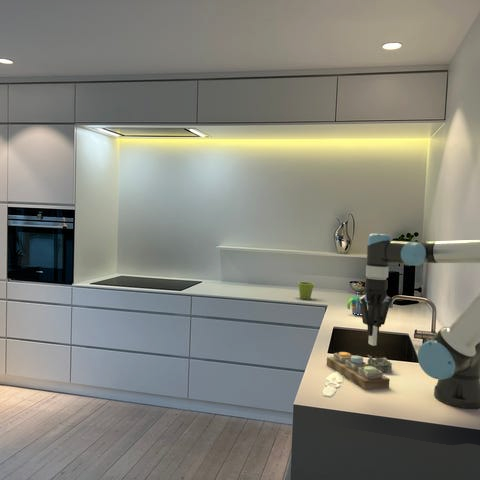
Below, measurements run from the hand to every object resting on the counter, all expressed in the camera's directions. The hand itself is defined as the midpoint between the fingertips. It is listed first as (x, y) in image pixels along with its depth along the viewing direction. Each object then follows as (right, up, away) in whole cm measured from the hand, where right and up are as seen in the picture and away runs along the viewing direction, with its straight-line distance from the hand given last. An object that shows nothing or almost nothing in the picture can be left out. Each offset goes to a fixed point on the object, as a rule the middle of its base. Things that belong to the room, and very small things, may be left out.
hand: (372, 344), depth 163 cm
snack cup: (+26, -9, +119) cm, 122 cm away
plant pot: (-1, -5, +163) cm, 163 cm away
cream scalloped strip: (-14, -14, 0) cm, 20 cm away
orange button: (-6, -10, +17) cm, 20 cm away
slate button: (-3, -9, +9) cm, 13 cm away
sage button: (-1, -11, +1) cm, 11 cm away
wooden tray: (-4, -14, +9) cm, 17 cm away
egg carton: (+8, -14, +19) cm, 25 cm away
